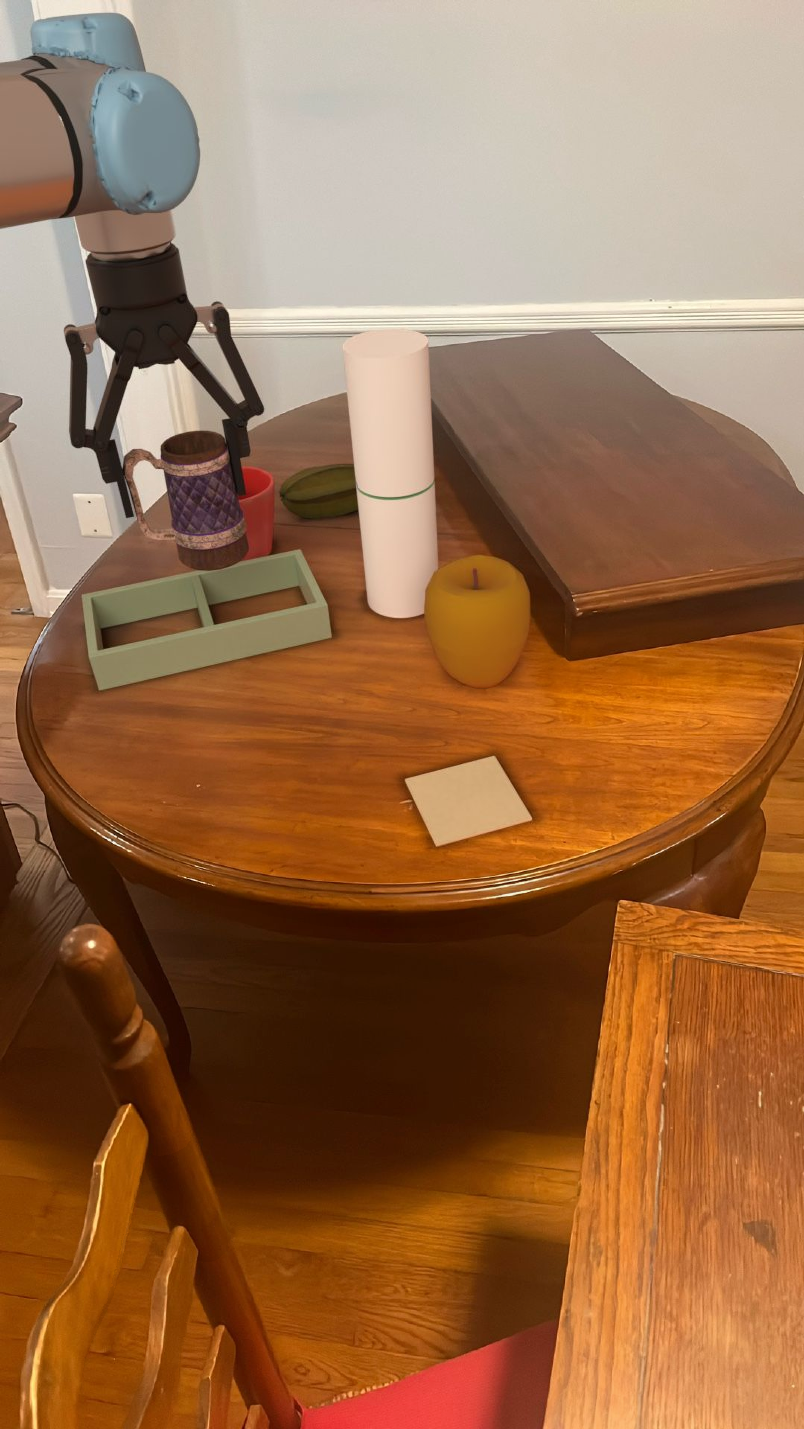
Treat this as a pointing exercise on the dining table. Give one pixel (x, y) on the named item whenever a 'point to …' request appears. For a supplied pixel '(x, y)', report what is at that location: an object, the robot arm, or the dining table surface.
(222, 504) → the mug
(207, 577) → the holder
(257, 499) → the flower pot
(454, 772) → the coaster
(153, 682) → the dining table surface
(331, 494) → the fruit
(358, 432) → the container
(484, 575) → the apple
